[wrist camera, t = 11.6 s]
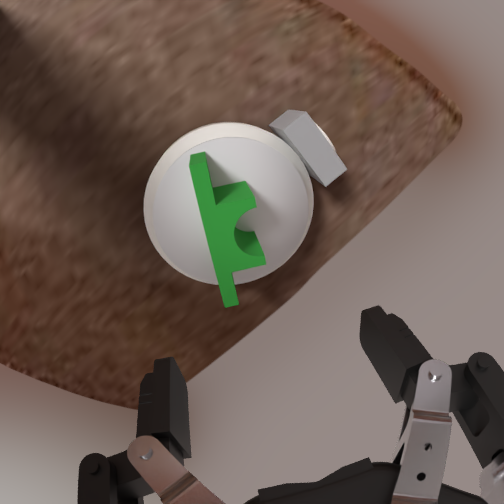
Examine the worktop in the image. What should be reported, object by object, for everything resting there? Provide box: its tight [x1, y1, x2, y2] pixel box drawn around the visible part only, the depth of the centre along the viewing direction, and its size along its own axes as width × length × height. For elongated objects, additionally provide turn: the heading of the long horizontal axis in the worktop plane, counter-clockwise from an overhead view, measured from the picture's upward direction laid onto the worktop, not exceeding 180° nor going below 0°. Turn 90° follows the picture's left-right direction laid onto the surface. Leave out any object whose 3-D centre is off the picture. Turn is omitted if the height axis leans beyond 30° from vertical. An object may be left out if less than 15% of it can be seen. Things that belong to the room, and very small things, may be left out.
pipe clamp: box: [189, 151, 266, 308], centre depth 23 cm, size 11×4×5 cm, turn 9°
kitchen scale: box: [144, 110, 347, 285], centre depth 27 cm, size 18×15×5 cm
